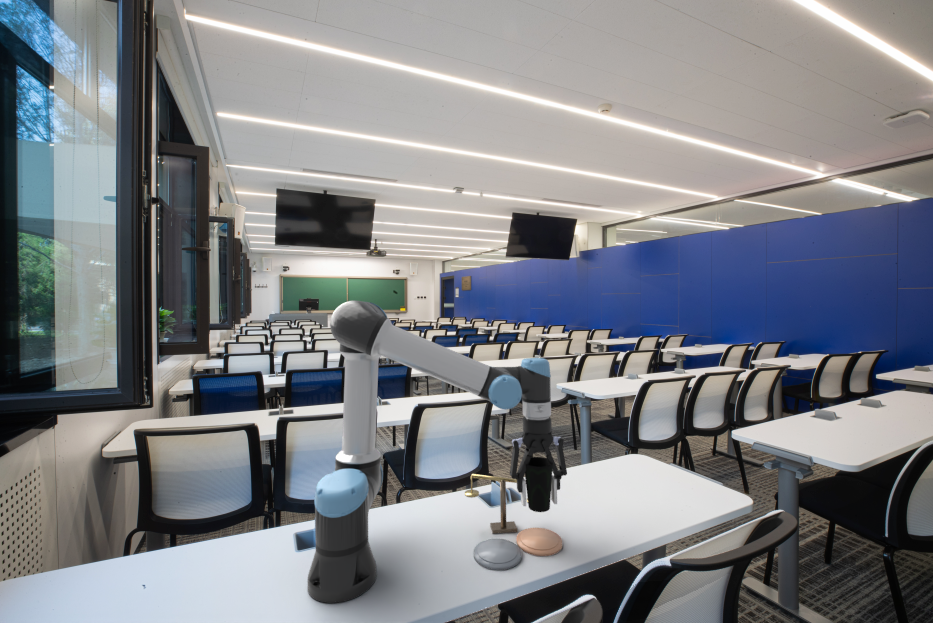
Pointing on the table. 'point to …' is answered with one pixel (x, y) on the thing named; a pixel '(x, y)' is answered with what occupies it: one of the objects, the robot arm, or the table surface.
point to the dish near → (497, 554)
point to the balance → (503, 525)
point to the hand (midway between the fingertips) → (538, 502)
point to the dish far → (539, 541)
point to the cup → (538, 483)
